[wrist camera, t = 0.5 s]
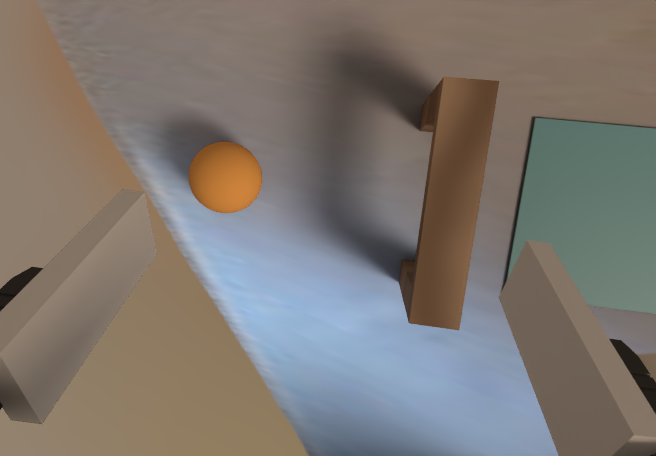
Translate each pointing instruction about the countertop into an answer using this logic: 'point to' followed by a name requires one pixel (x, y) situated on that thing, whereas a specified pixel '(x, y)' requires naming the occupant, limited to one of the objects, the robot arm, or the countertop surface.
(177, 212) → the countertop surface
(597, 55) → the countertop surface
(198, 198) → the ball
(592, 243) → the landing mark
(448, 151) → the bridge
